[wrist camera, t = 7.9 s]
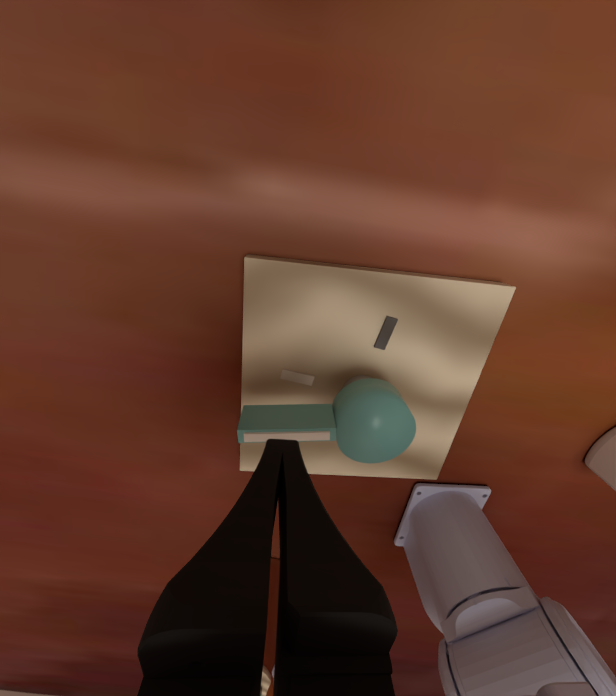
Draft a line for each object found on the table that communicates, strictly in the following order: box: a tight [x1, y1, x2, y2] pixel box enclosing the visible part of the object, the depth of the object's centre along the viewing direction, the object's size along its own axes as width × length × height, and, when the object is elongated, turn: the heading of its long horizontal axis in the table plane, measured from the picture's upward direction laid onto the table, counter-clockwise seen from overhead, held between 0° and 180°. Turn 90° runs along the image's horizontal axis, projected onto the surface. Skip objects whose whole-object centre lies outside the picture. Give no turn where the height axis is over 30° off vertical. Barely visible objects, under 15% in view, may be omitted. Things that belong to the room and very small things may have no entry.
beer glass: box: [260, 558, 280, 696], centre depth 28 cm, size 7×7×15 cm
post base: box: [240, 254, 516, 480], centre depth 22 cm, size 18×18×4 cm
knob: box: [237, 378, 416, 464], centre depth 19 cm, size 11×5×3 cm, turn 89°
